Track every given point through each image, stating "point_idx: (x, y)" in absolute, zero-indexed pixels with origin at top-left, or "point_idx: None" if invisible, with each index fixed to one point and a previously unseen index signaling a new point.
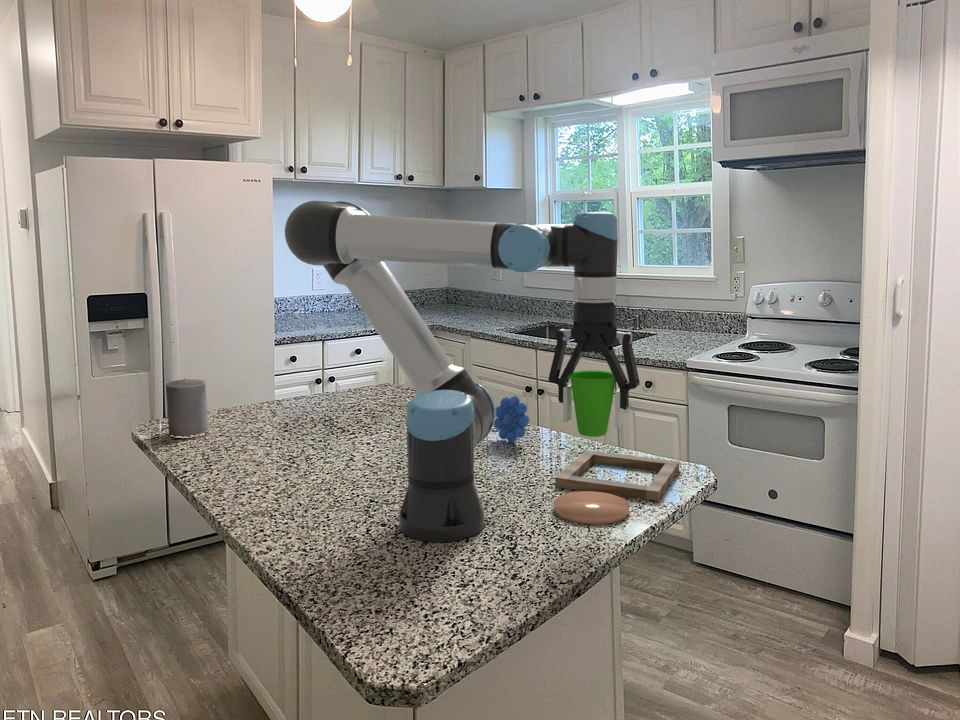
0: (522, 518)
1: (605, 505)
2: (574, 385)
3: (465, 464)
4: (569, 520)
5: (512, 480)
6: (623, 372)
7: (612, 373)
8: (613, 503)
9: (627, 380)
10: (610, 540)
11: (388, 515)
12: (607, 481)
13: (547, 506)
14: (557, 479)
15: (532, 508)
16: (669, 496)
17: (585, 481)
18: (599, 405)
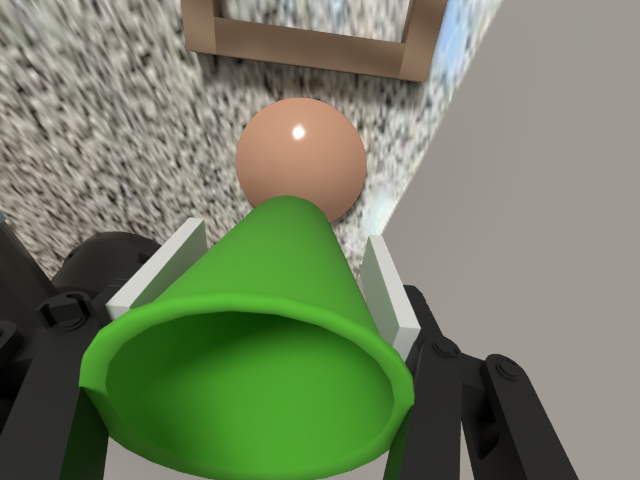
0: (216, 229)
1: (326, 171)
2: (195, 410)
3: None
4: None
5: (85, 32)
6: (458, 434)
7: (384, 476)
8: (338, 156)
9: (461, 377)
10: (347, 261)
11: (50, 268)
12: (310, 39)
13: (229, 172)
14: (194, 51)
15: (211, 188)
16: (445, 33)
17: (261, 58)
18: (316, 343)
